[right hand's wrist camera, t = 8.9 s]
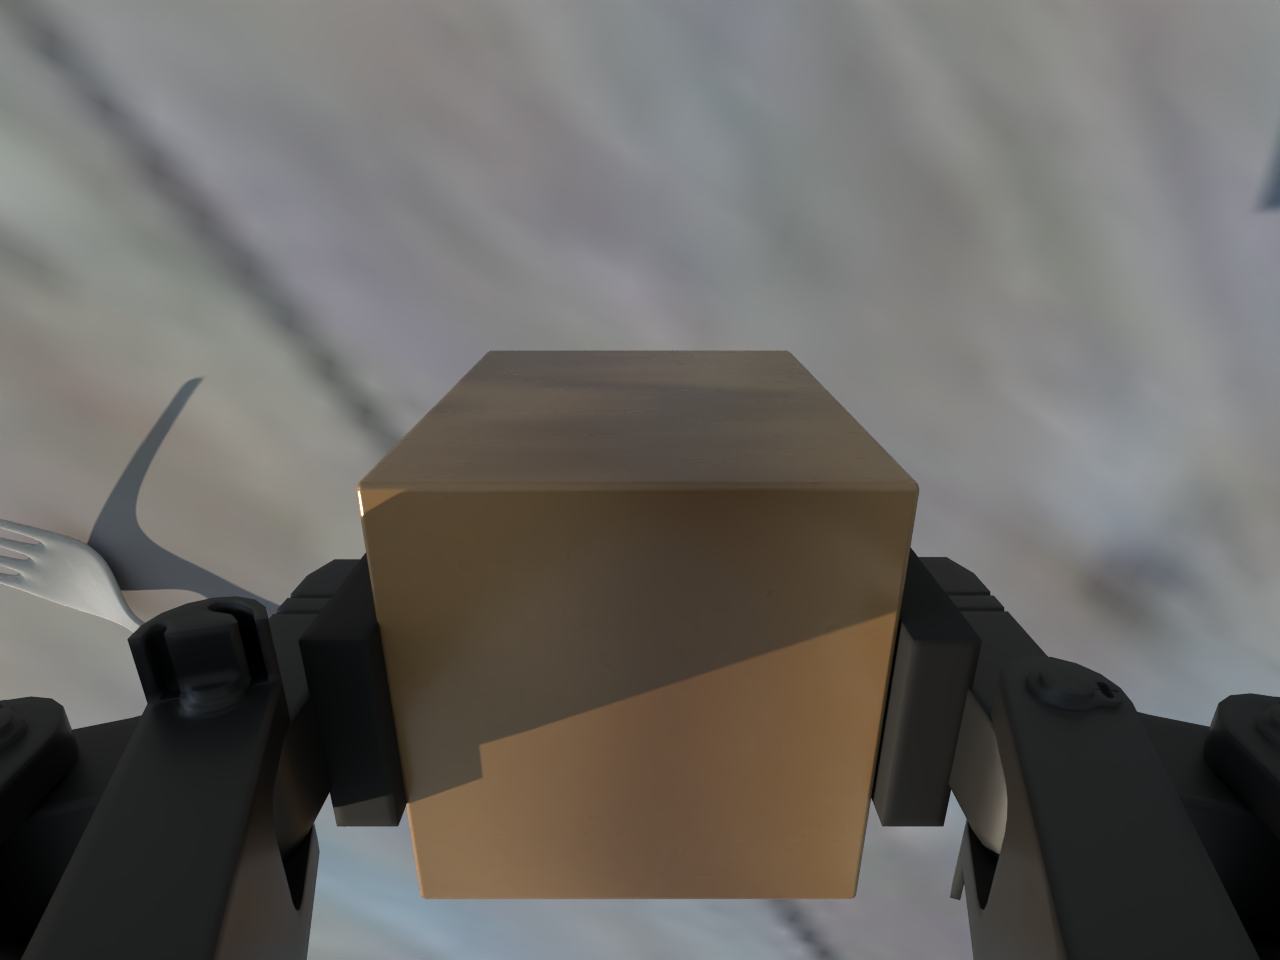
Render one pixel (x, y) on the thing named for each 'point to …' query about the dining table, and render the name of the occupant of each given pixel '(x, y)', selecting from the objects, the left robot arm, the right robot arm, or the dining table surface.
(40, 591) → the fork
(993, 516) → the dining table surface
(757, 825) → the block
